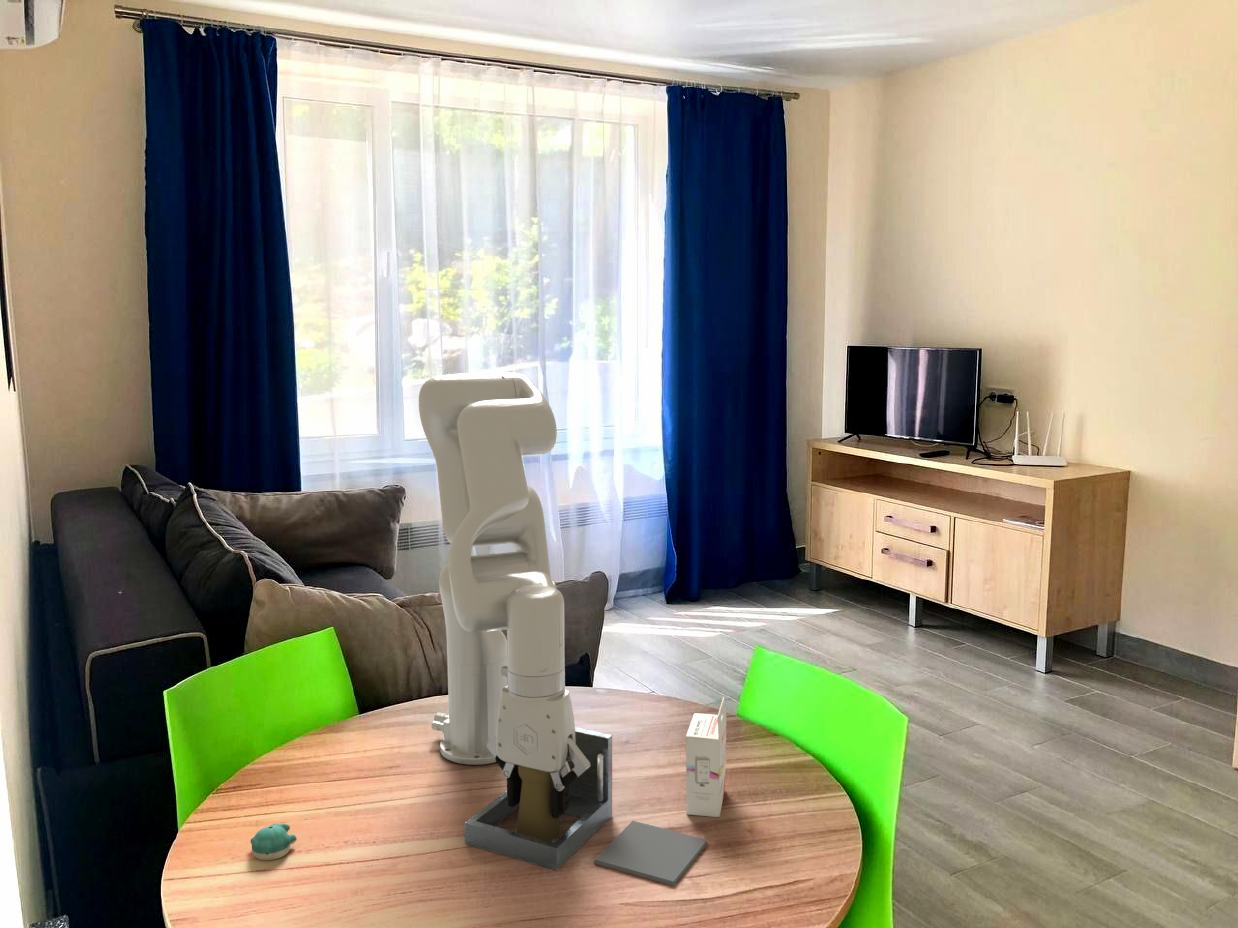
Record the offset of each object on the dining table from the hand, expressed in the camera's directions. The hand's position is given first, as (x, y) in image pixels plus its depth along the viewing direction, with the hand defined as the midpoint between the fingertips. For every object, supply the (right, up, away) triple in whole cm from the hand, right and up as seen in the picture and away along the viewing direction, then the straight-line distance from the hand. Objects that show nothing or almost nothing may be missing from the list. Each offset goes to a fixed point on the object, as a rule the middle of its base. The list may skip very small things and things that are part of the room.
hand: (538, 806), depth 135 cm
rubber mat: (+15, -4, -5) cm, 17 cm away
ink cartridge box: (+23, -3, +9) cm, 25 cm away
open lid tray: (0, -4, +1) cm, 4 cm away
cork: (0, -4, +1) cm, 4 cm away
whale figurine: (-34, -5, -3) cm, 35 cm away
